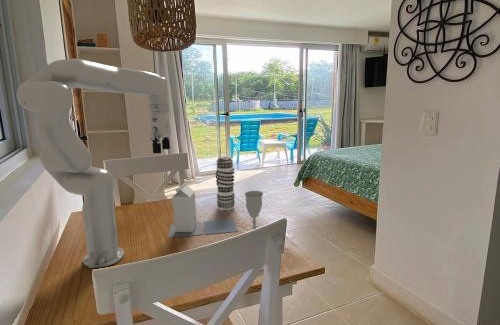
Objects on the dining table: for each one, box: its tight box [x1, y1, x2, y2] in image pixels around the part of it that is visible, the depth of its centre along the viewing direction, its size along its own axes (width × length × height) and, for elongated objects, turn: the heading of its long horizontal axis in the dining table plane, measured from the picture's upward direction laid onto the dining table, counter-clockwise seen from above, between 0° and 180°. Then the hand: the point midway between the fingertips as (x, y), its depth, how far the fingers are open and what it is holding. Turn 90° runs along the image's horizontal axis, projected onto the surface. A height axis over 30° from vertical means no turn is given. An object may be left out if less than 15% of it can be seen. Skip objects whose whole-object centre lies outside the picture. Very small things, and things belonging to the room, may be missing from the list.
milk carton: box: [171, 182, 197, 232], centre depth 126 cm, size 7×7×19 cm
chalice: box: [244, 190, 264, 230], centre depth 117 cm, size 7×7×18 cm
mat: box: [203, 218, 238, 235], centre depth 130 cm, size 13×13×1 cm
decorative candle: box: [214, 156, 236, 211], centre depth 150 cm, size 9×9×25 cm
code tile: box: [168, 221, 203, 239], centre depth 128 cm, size 13×13×1 cm
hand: (161, 151), depth 128 cm, fingers open, 9 cm apart
